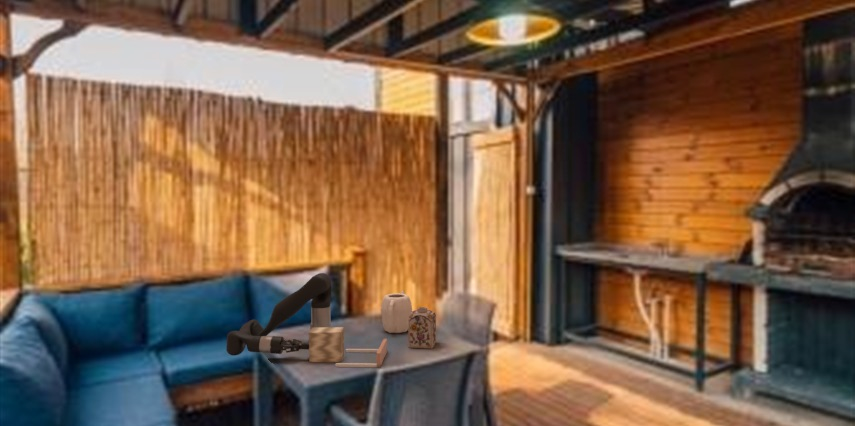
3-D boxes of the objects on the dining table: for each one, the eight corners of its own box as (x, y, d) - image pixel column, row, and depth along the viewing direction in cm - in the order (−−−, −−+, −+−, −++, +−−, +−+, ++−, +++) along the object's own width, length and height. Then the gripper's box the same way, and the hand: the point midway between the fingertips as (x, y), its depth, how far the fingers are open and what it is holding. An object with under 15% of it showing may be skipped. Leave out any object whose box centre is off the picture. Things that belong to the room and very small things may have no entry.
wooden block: (309, 362, 267) (308, 332, 266) (313, 355, 276) (312, 327, 275) (341, 361, 267) (340, 332, 266) (344, 355, 276) (343, 327, 275)
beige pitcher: (417, 324, 331) (417, 290, 330) (405, 337, 305) (405, 300, 304) (390, 323, 335) (389, 289, 334) (375, 336, 309) (375, 299, 308)
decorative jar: (432, 349, 285) (432, 310, 284) (408, 348, 287) (407, 310, 286) (436, 342, 297) (436, 305, 296) (413, 341, 299) (412, 304, 298)
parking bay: (335, 366, 260) (335, 352, 260) (346, 351, 283) (346, 338, 282) (380, 367, 259) (379, 353, 258) (387, 351, 282) (387, 338, 281)
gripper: (275, 348, 278) (313, 350, 277) (267, 357, 265) (306, 359, 264) (276, 332, 277) (314, 334, 277) (267, 340, 264) (307, 342, 264)
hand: (310, 346), depth 270 cm, fingers closed
